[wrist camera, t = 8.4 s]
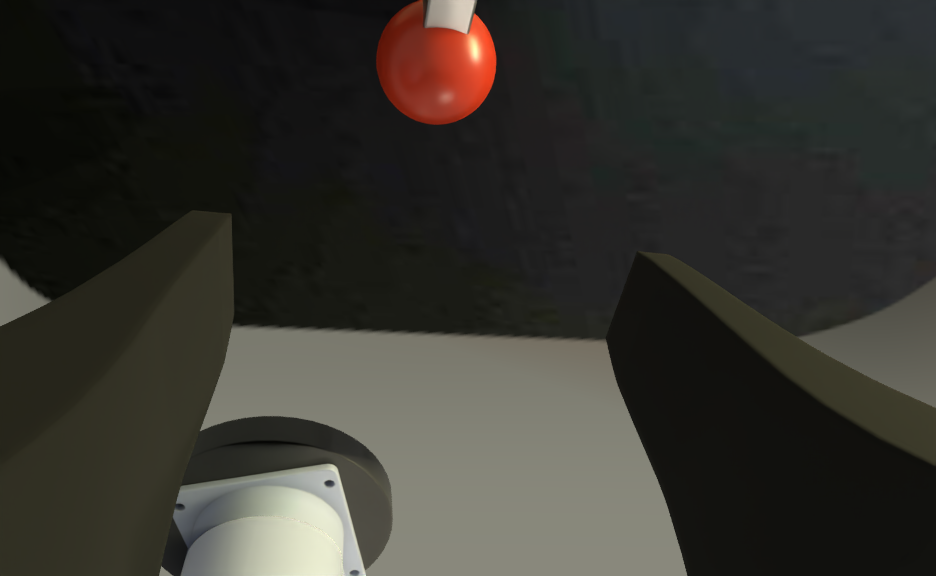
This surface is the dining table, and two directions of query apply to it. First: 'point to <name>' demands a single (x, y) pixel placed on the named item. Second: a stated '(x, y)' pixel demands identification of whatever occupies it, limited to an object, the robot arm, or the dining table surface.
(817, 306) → the dining table surface
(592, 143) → the dining table surface
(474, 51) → the switch lever
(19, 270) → the dining table surface
